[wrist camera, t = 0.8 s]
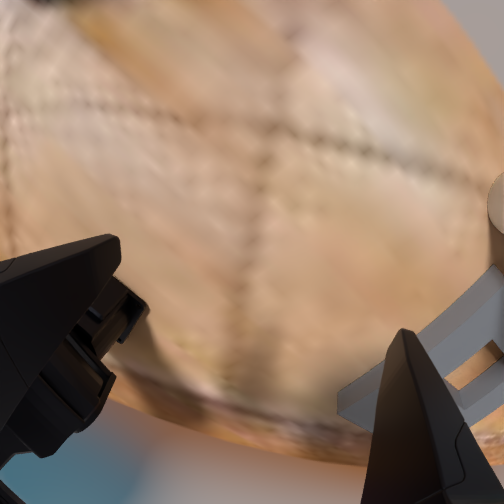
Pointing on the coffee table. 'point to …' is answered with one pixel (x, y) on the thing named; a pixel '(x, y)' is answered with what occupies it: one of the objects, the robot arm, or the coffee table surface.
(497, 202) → the peg
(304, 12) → the coffee table surface
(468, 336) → the socket board
